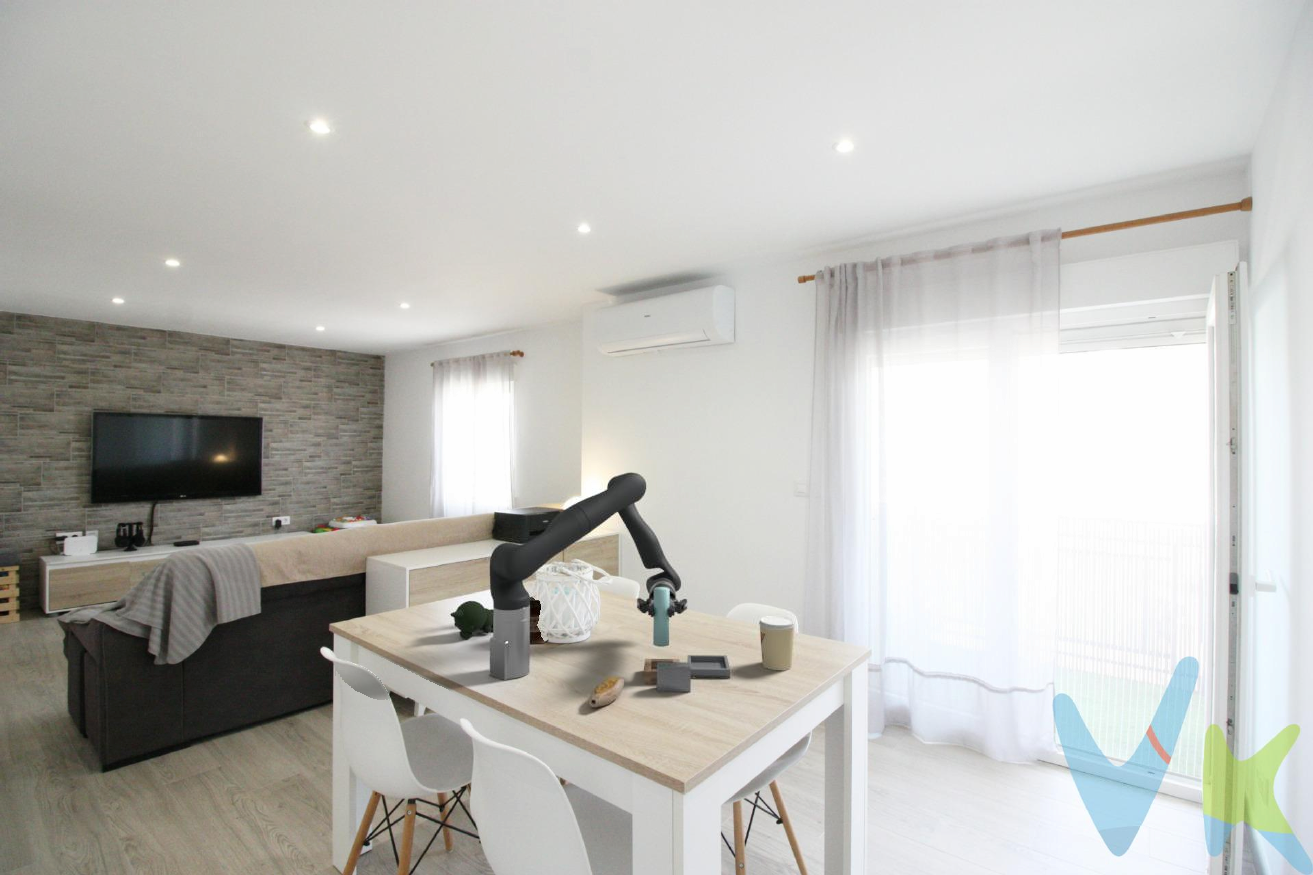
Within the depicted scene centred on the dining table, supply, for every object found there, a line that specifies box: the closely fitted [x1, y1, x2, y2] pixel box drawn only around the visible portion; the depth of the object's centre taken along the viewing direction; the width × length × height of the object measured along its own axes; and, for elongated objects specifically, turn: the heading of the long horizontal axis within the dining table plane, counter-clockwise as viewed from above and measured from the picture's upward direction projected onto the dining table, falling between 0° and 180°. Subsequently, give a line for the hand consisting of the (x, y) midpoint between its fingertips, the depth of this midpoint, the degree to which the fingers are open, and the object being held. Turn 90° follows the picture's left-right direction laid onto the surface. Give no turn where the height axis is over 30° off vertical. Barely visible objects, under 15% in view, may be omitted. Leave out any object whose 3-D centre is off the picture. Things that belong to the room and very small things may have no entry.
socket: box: [643, 658, 681, 685], centre depth 153 cm, size 9×9×3 cm
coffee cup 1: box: [530, 596, 545, 644], centre depth 182 cm, size 9×8×13 cm
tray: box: [686, 654, 731, 679], centre depth 157 cm, size 11×11×2 cm
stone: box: [588, 676, 625, 708], centre depth 139 cm, size 5×14×4 cm, turn 156°
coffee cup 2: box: [758, 615, 796, 671], centre depth 161 cm, size 9×9×12 cm
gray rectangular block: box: [656, 661, 692, 693], centre depth 145 cm, size 3×8×6 cm, turn 89°
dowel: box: [652, 587, 670, 648], centre depth 153 cm, size 4×4×14 cm
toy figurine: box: [450, 600, 493, 640], centre depth 189 cm, size 9×19×25 cm
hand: (661, 613), depth 150 cm, fingers closed on dowel, 4 cm apart
